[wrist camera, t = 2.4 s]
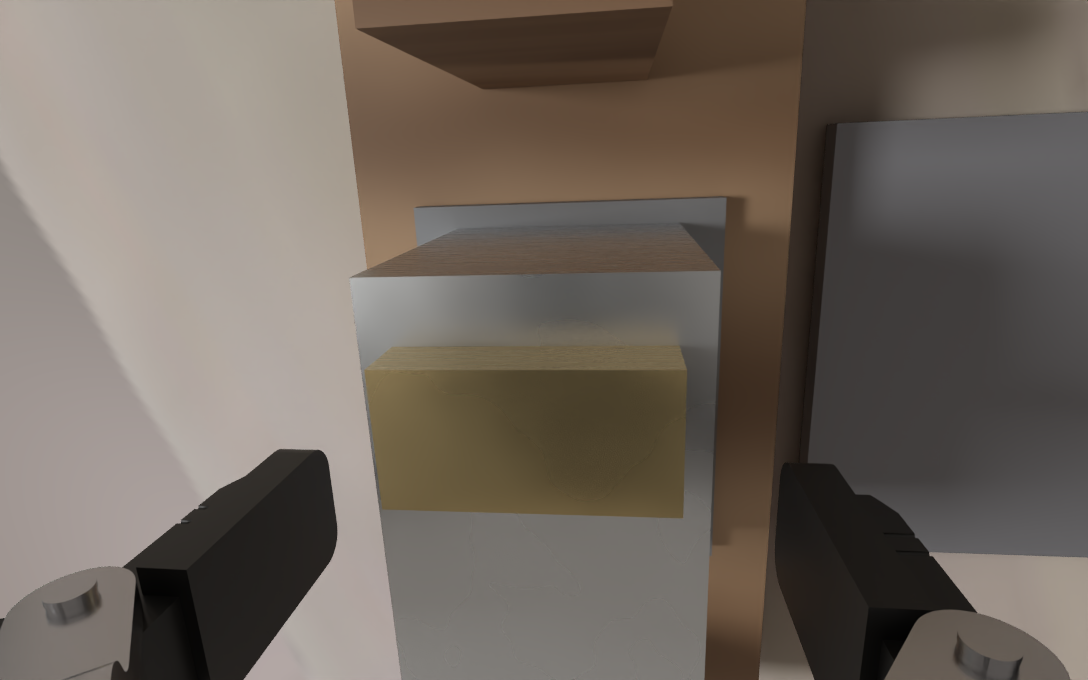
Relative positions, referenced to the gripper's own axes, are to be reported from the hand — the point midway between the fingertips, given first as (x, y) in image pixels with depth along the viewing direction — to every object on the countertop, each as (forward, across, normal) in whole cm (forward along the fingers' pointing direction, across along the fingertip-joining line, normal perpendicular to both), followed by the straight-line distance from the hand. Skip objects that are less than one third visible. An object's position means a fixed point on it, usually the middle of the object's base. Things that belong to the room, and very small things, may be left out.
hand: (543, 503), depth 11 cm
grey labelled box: (+4, 0, 0) cm, 5 cm away
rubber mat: (+8, -11, 0) cm, 14 cm away
